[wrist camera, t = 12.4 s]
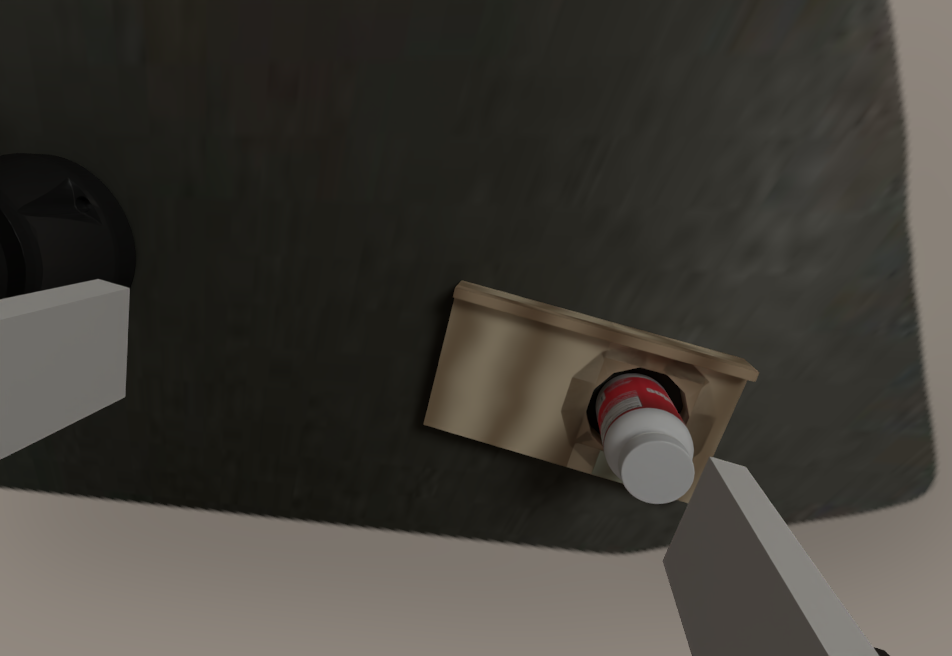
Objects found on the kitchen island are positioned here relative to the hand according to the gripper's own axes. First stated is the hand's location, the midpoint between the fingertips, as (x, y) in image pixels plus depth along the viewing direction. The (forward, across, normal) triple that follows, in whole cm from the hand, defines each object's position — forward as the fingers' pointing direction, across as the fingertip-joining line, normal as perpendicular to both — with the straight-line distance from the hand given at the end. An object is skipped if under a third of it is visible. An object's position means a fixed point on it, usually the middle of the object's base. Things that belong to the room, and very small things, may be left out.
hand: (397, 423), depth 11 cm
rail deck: (+32, +9, -10) cm, 34 cm away
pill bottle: (+32, +14, -10) cm, 36 cm away
